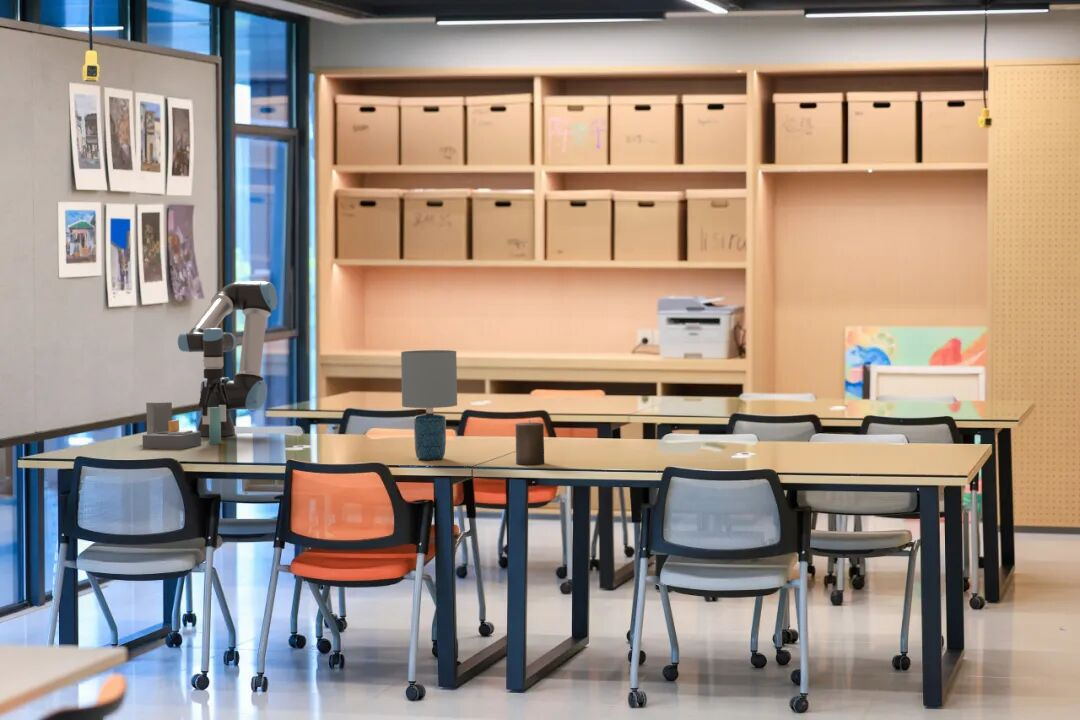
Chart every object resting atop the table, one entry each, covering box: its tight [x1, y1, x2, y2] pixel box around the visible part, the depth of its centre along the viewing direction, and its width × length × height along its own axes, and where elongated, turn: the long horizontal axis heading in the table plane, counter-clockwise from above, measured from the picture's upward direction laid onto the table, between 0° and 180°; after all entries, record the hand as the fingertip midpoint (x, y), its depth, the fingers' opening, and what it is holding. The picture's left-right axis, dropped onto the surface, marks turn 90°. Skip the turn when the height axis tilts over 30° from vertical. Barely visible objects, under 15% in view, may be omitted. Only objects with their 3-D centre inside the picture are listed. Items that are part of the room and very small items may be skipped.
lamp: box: [400, 349, 458, 461], centre depth 555 cm, size 19×19×38 cm
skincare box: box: [145, 401, 173, 434], centre depth 623 cm, size 8×7×16 cm
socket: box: [141, 431, 202, 450], centre depth 606 cm, size 16×16×5 cm
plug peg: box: [208, 407, 222, 445], centre depth 614 cm, size 4×4×14 cm
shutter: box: [168, 419, 193, 434], centre depth 605 cm, size 7×7×5 cm
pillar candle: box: [514, 419, 545, 466], centre depth 539 cm, size 10×10×15 cm
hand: (214, 423), depth 614 cm, fingers open, 13 cm apart
